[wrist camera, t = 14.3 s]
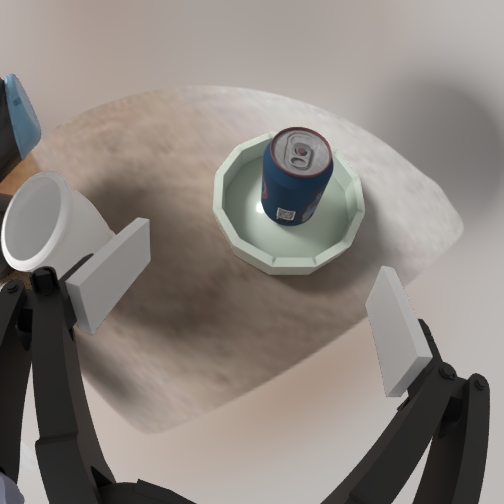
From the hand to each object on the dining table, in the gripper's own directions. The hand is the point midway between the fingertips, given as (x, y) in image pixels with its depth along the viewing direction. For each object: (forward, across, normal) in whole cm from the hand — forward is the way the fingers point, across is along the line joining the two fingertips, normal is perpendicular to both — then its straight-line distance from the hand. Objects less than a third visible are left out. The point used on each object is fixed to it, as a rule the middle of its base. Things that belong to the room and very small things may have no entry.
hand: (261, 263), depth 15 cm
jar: (+14, -22, -13) cm, 30 cm away
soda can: (+22, +2, -4) cm, 22 cm away
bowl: (+23, +2, -5) cm, 23 cm away
